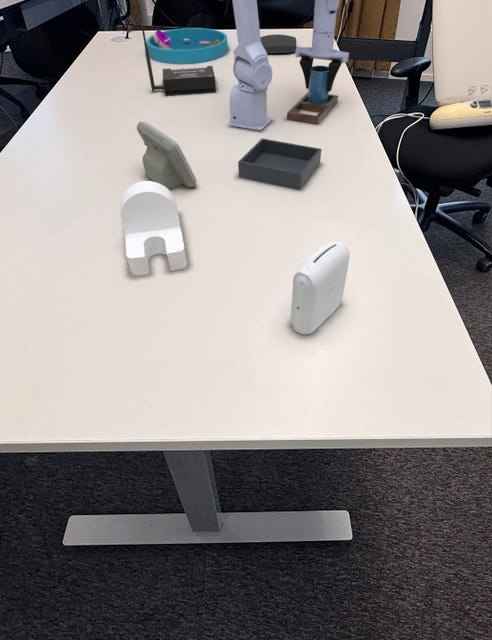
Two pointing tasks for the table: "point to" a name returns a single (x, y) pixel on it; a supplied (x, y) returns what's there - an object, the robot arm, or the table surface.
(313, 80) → the cup
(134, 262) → the bracket
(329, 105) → the rack
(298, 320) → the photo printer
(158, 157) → the digital clock
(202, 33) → the teal round tray
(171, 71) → the wireless controller
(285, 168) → the dark grey tray
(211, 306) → the table surface
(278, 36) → the media streaming box
